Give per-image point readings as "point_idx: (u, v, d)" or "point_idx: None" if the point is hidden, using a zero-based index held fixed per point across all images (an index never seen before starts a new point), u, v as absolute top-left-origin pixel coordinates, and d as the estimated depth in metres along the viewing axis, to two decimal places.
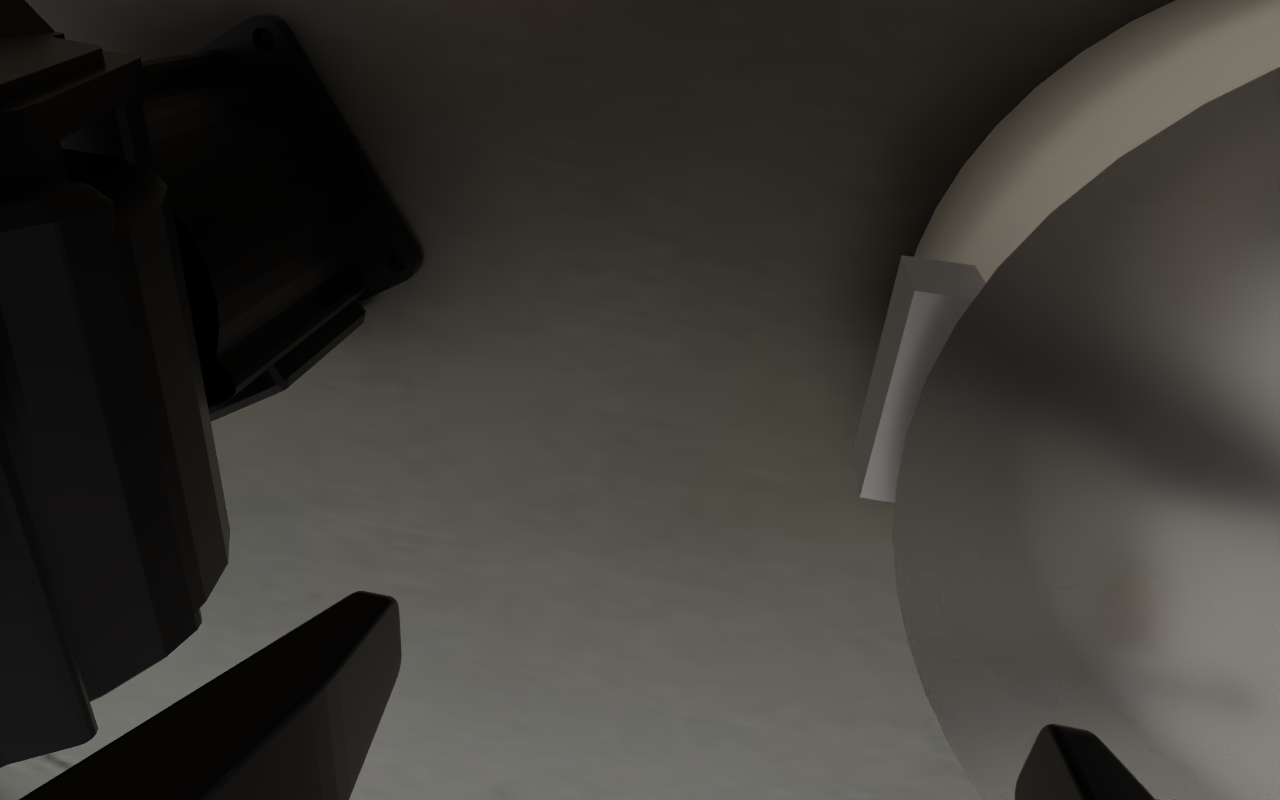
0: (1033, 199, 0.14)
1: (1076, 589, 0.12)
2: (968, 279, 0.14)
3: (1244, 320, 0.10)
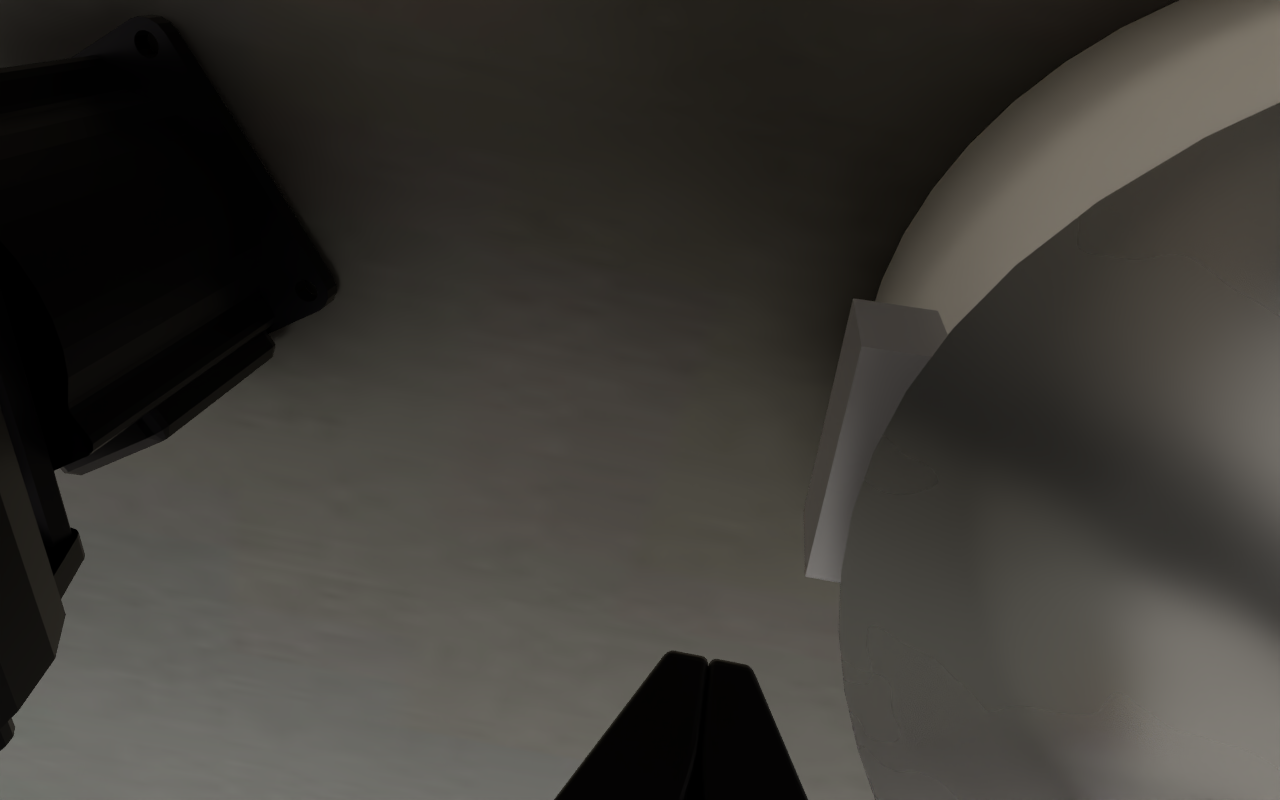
0: (1003, 237, 0.12)
1: (1049, 710, 0.10)
2: (927, 329, 0.12)
3: (1254, 408, 0.08)
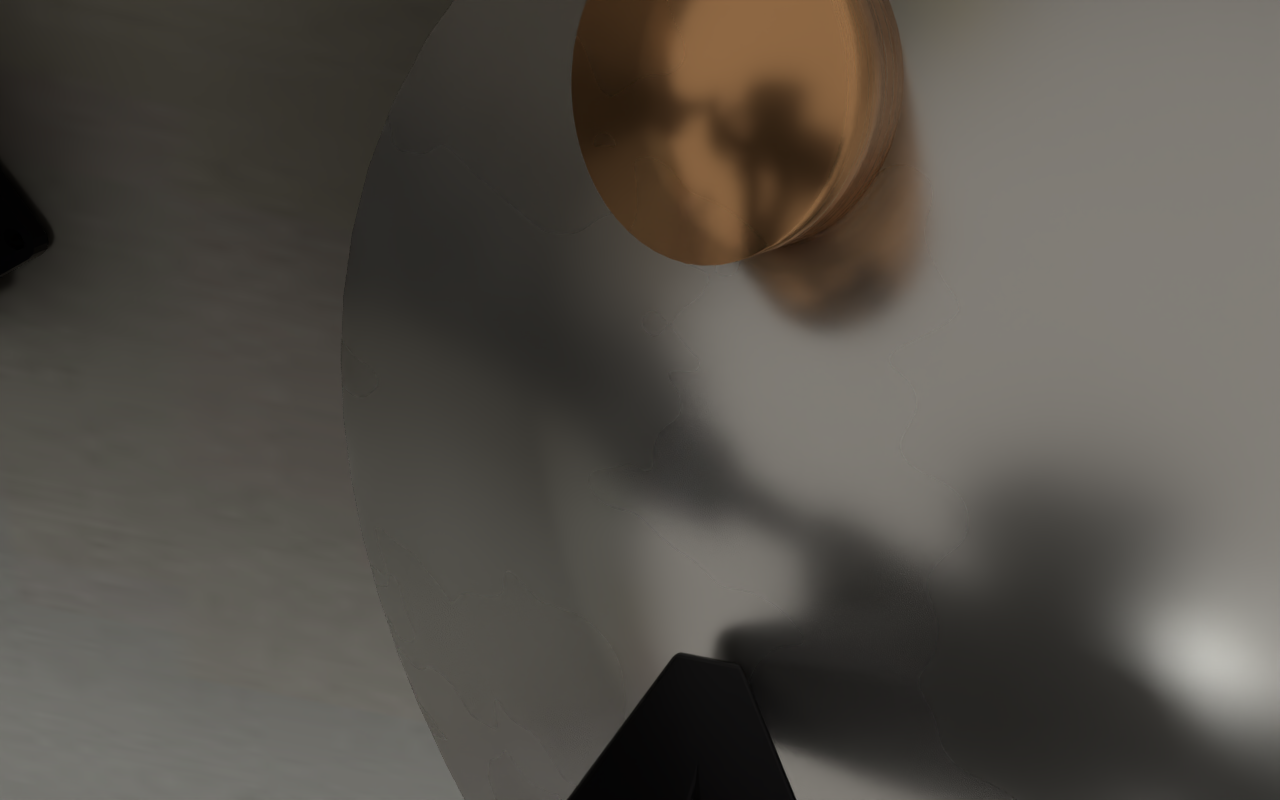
0: None
1: (479, 594, 0.11)
2: None
3: (509, 286, 0.09)
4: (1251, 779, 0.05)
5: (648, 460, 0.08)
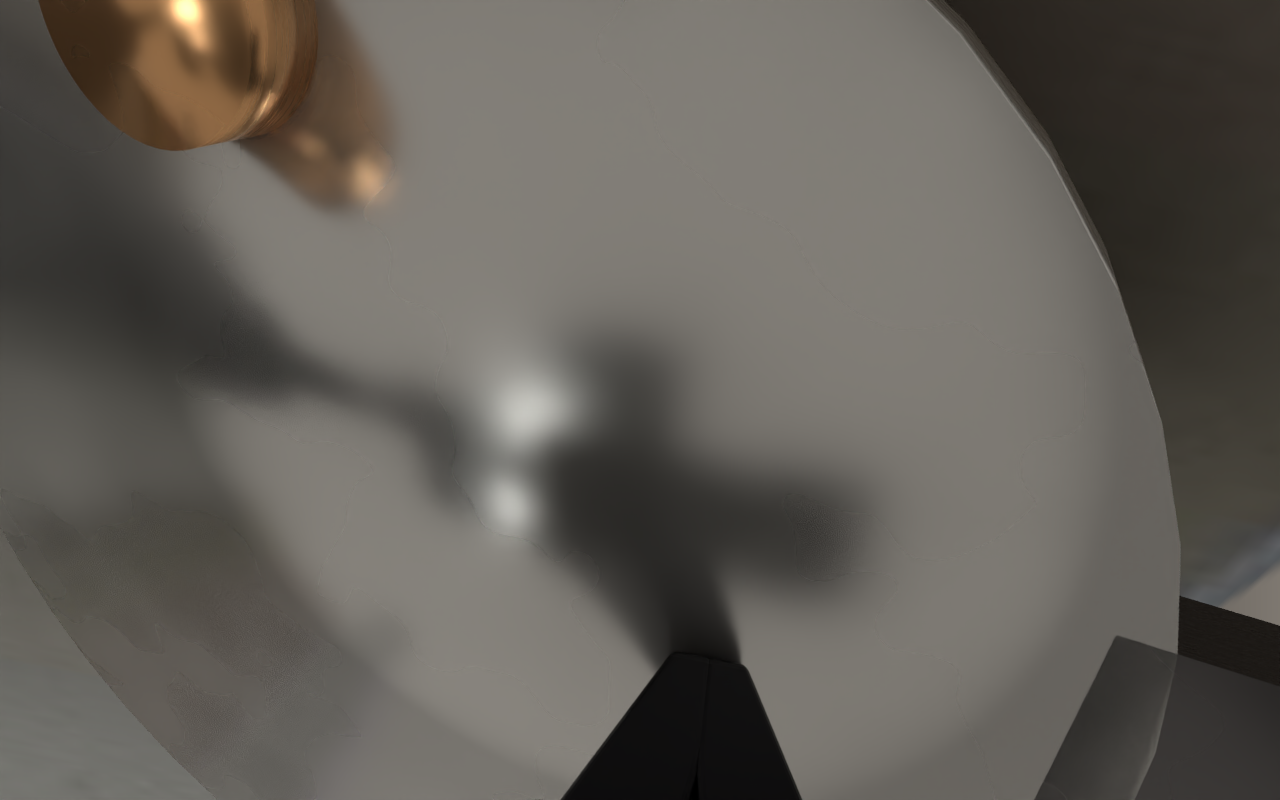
0: None
1: (114, 524, 0.11)
2: None
3: (61, 211, 0.09)
4: (644, 468, 0.08)
5: (220, 347, 0.09)
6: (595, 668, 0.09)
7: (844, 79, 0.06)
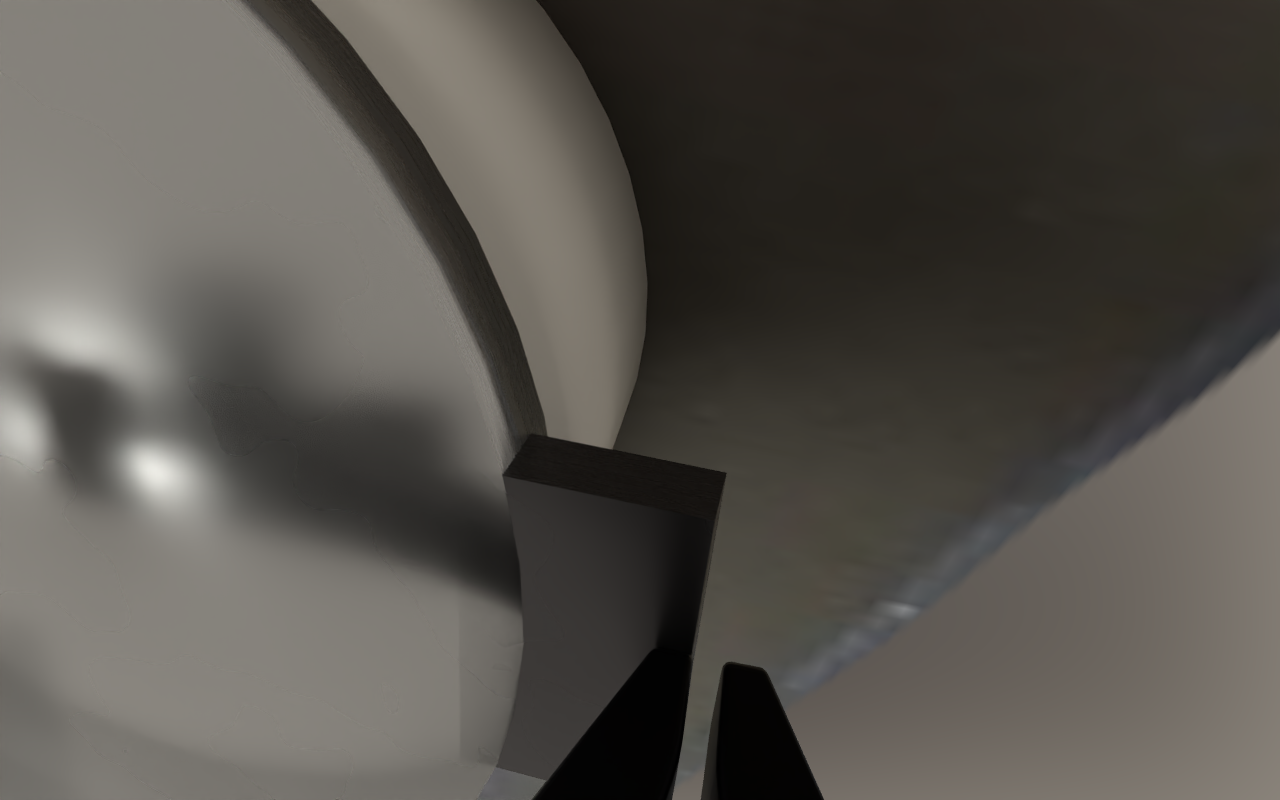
0: None
1: None
2: None
3: None
4: (72, 369, 0.08)
5: None
6: (104, 573, 0.10)
7: None
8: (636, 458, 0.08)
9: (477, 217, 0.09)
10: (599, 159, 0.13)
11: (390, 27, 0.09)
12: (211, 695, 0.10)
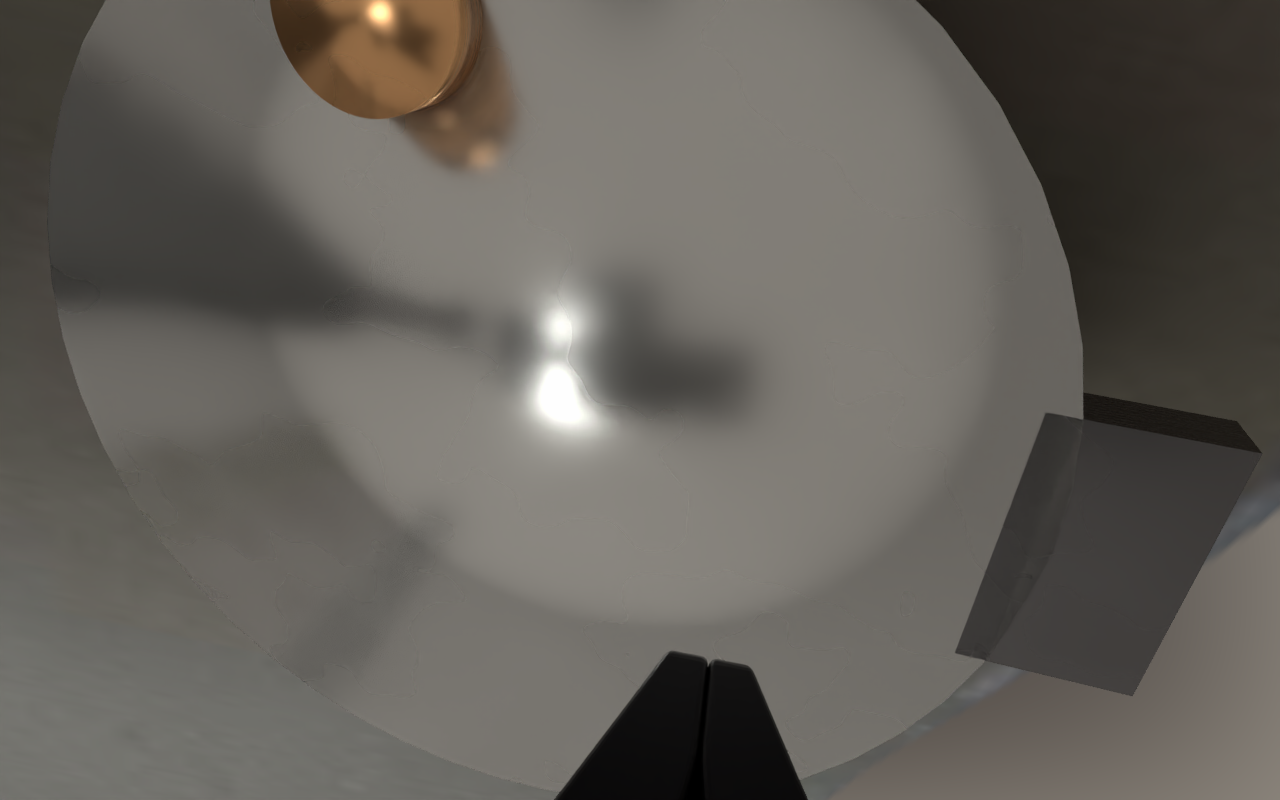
0: None
1: (240, 446, 0.14)
2: None
3: (226, 176, 0.11)
4: (722, 337, 0.11)
5: (367, 279, 0.12)
6: (676, 501, 0.12)
7: (870, 55, 0.09)
8: (1164, 409, 0.10)
9: None
10: None
11: None
12: (734, 604, 0.13)
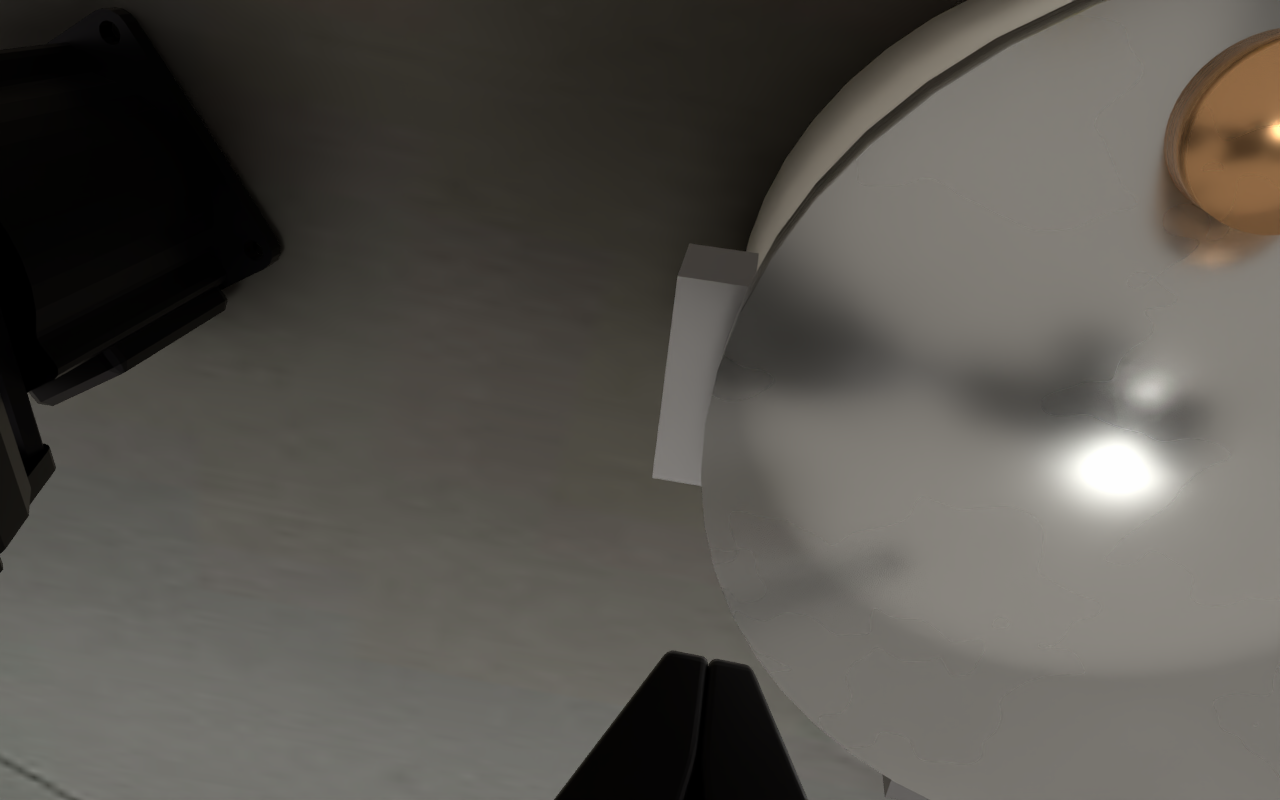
0: (800, 189, 0.14)
1: (876, 527, 0.14)
2: (741, 266, 0.15)
3: (984, 276, 0.12)
4: None
5: (1110, 373, 0.12)
6: None
7: None
8: None
9: None
10: None
11: None
12: None
